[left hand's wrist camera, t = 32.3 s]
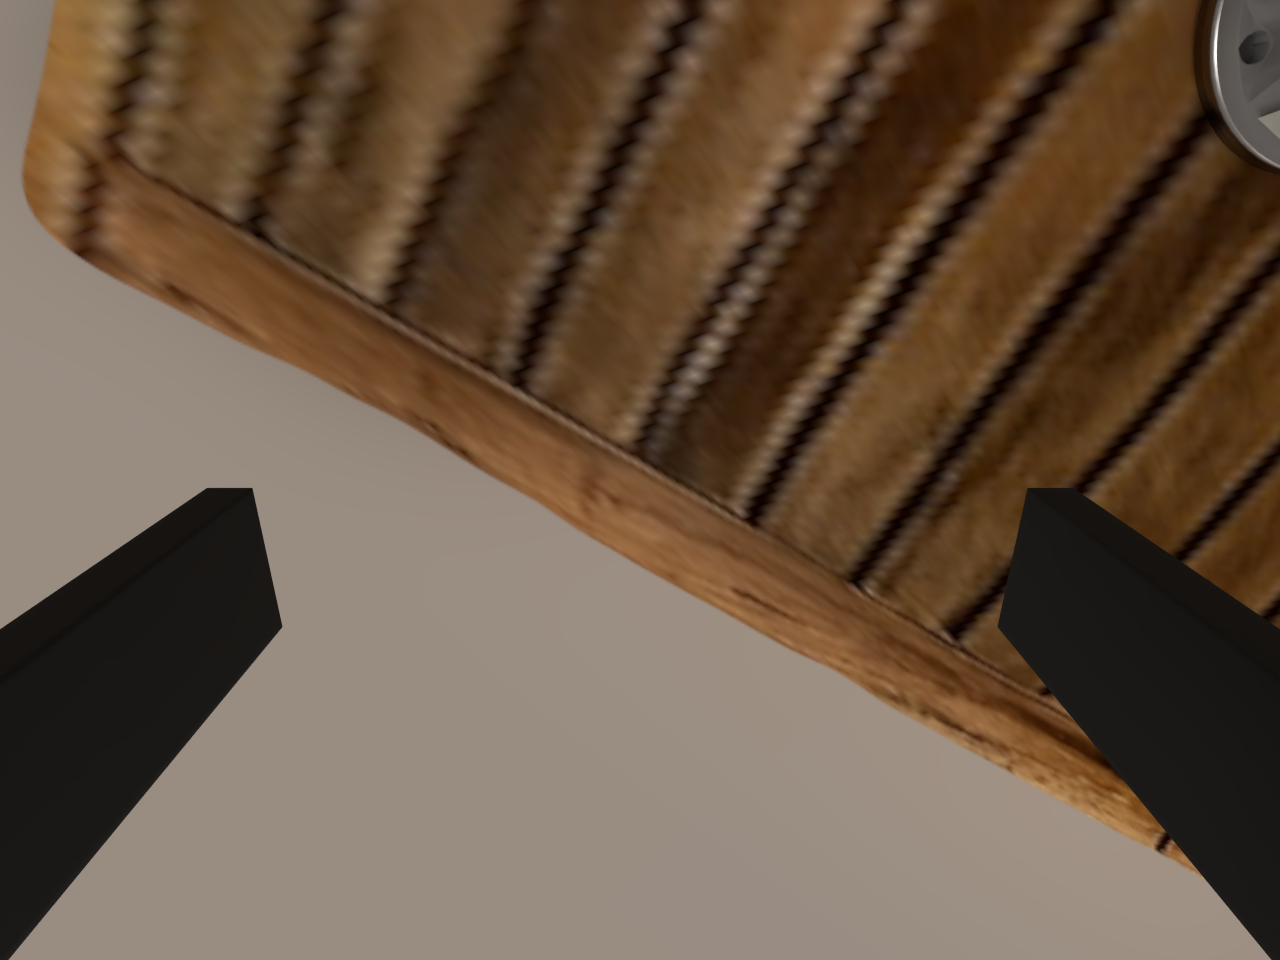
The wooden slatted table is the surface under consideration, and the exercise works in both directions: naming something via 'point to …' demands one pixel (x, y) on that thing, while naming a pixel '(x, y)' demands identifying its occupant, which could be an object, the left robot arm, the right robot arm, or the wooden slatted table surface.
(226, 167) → the wooden slatted table surface
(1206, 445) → the wooden slatted table surface
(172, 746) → the left robot arm
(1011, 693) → the wooden slatted table surface
